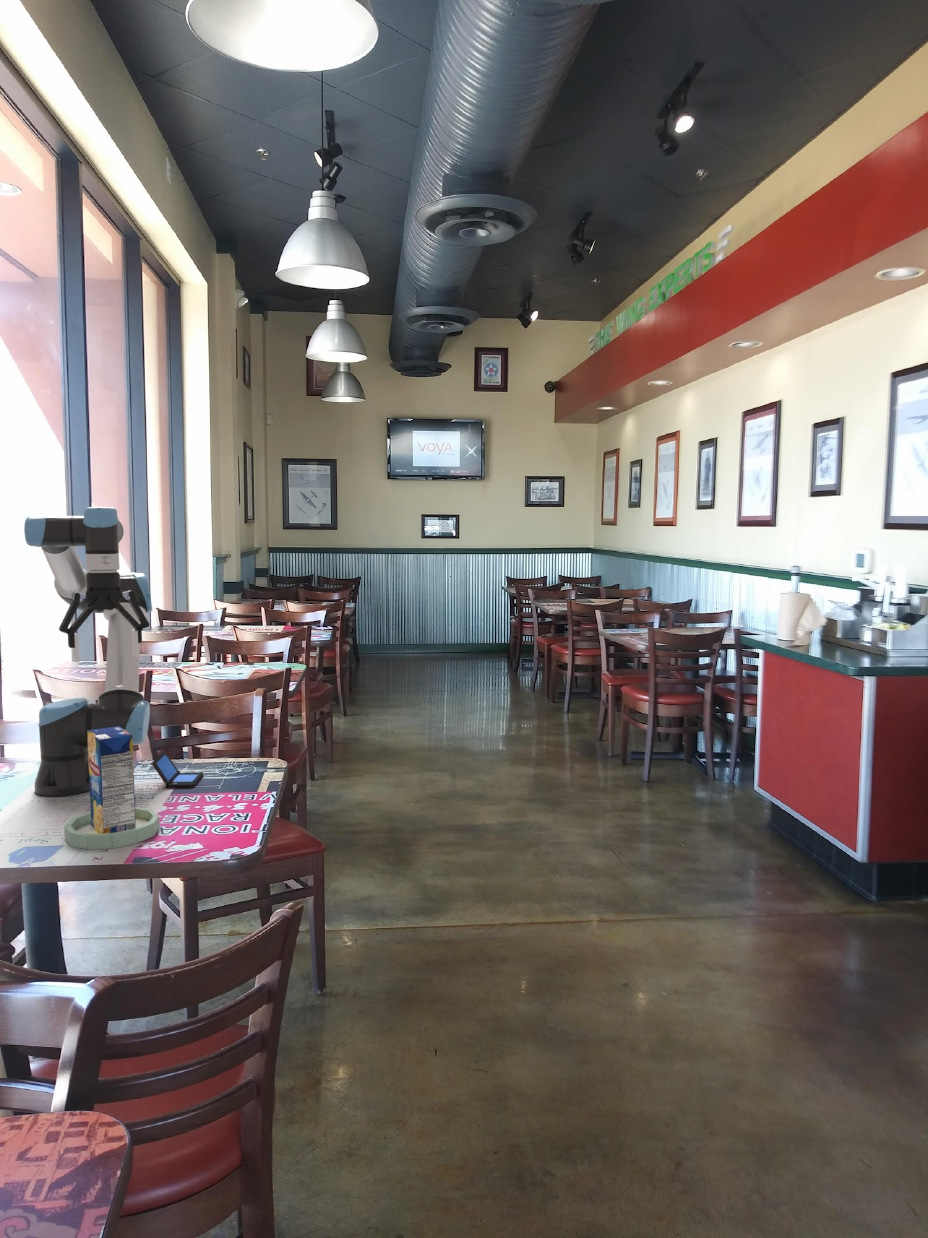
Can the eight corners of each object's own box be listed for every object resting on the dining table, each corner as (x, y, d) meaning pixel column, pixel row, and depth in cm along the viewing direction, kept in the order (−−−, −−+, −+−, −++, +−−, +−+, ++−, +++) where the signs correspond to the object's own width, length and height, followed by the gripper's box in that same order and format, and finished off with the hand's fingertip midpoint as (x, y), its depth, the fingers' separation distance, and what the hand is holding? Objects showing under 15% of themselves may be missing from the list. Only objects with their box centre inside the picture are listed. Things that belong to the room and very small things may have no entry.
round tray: (58, 830, 193) (57, 817, 192) (144, 814, 204) (143, 802, 204) (77, 855, 177) (76, 841, 177) (169, 836, 189) (168, 823, 188)
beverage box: (103, 839, 184) (99, 739, 182) (91, 825, 193) (87, 730, 191) (136, 832, 188) (132, 735, 186) (122, 819, 197) (118, 726, 195)
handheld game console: (193, 789, 225) (192, 761, 224) (151, 790, 224) (151, 762, 223) (204, 775, 237) (203, 749, 237) (165, 776, 237) (164, 750, 236)
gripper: (49, 573, 194) (53, 665, 196) (160, 570, 209) (163, 656, 211) (43, 572, 200) (47, 661, 202) (151, 569, 215) (154, 652, 217)
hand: (106, 659), depth 207 cm, fingers open, 13 cm apart
